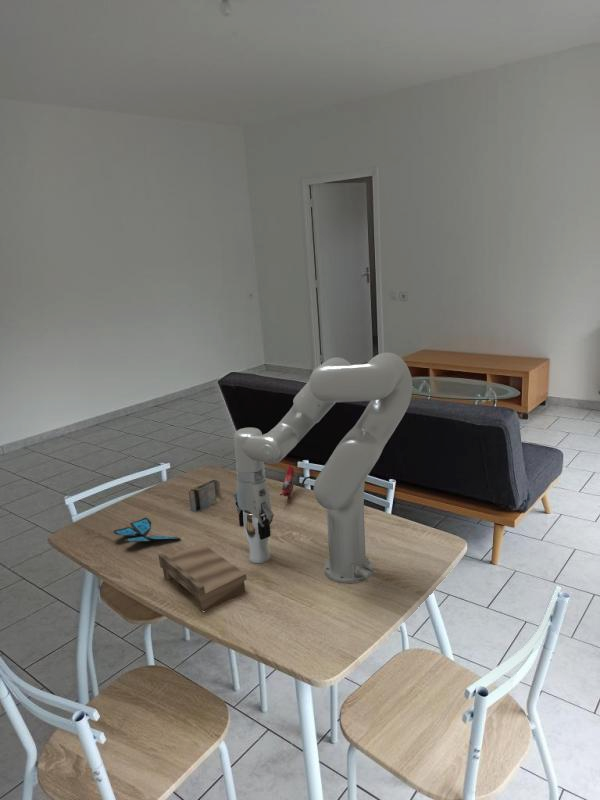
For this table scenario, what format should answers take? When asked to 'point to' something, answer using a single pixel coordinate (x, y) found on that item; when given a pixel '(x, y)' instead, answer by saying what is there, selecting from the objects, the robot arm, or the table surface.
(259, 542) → the beer glass
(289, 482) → the decorative bird figurine
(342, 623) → the table surface
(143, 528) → the decorative butterfly
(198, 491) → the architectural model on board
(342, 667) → the table surface
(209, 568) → the display ledge
